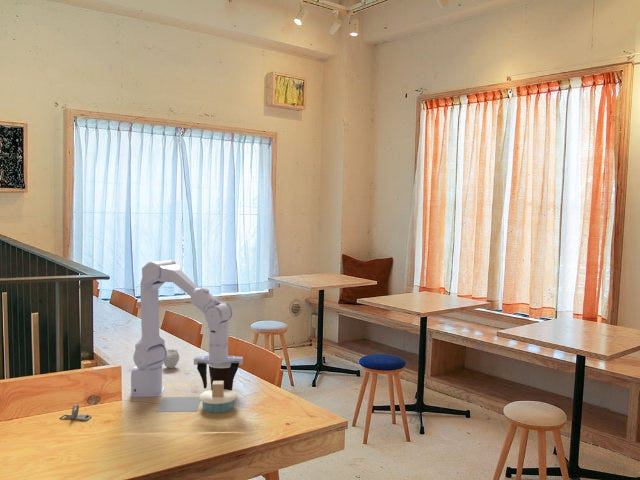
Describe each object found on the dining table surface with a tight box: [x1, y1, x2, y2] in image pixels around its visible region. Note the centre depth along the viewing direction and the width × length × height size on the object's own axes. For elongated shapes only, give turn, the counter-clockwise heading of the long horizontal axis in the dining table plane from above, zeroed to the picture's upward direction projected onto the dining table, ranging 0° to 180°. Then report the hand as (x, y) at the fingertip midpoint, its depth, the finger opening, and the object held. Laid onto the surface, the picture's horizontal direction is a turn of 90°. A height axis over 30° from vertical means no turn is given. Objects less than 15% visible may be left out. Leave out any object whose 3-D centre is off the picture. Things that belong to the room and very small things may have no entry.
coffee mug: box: [208, 364, 234, 391], centre depth 183 cm, size 12×9×10 cm
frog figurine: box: [163, 348, 180, 369], centre depth 208 cm, size 6×7×7 cm
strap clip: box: [58, 403, 92, 422], centre depth 160 cm, size 8×3×4 cm, turn 84°
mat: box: [155, 396, 201, 413], centre depth 171 cm, size 12×12×1 cm
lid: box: [199, 381, 237, 404], centre depth 169 cm, size 11×11×5 cm
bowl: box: [202, 400, 234, 414], centre depth 169 cm, size 9×9×4 cm
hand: (218, 387), depth 169 cm, fingers open, 7 cm apart
